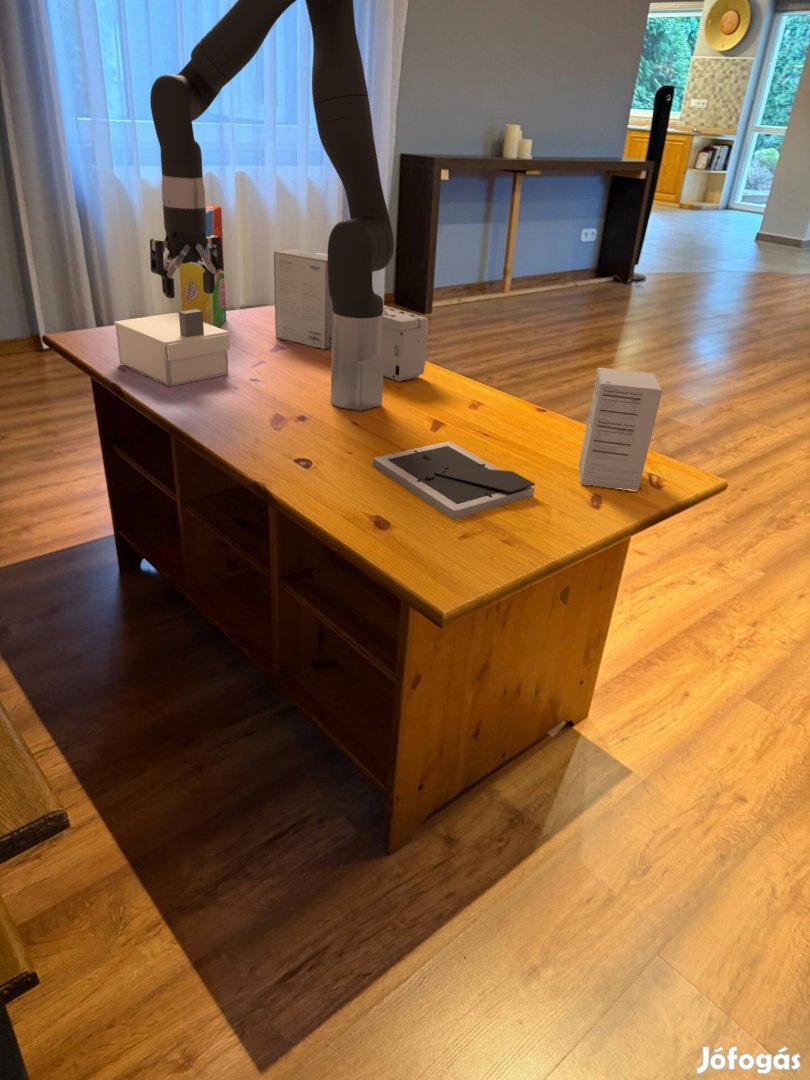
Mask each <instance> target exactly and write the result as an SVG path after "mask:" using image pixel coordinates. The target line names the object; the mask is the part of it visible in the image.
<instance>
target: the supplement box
mask: <svg viewBox="0 0 810 1080" xmlns="http://www.w3.org/2000/svg"><path fill="white" fill-rule="evenodd" d="M595 374H596V376H595V381H594V385H593V386H594V387H593V391H592V397H591V403H590V409H589V415H588V419H587V422H586V426H585V433H584V438H583V444H582V449H581V453H580V458H579V463H578V465H579V466H578V468H579V478H580V485H581V484H584V485H583V486H588V485H594V486H593V487H595V486H602V487H609V488H608V489H610V488H622V489H631V490H638V491H639V490H640V486H641V482H642V481H641V480H642V477H643V472H644V469H645V464H646V461H647V457H648V452H649V448H650V444H651V440H652V435H653V431H654V426H655V422H656V418H657V413H658V409H659V408H660V407H659V406H660V402H661V398H662V393H663V390H662V388H661V385H660V383H659V380H658V378H657V375H656V374H655V373H653V372H652V373H651V372H644V371H635V370H634V371H633V370H625V369H617V368H608V367H598V368H597V371H596V373H595ZM602 487H601V488H602Z"/></svg>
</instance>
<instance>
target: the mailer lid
mask: <svg viewBox="0 0 810 1080" xmlns="http://www.w3.org/2000/svg"><path fill="white" fill-rule="evenodd" d="M113 326H115V328H116V327H119V328H121V329H124V330H126V331H129V332H131V333H133V334H136V335H138V336H141V337H143V338H145V339H148V340H150V341H153V342H155V343H158V344H160V345H162V346H165V347H167V355H168V360H169V361H171V360H176V359H182V358H187V357H192V356H197V355H203V354H208V353H213V352H218V351H224V350H227V351H228V350H231V339H230V337H231V336H230V332H229V331H228V330H226V329H223V328H220V327H219V328H218V327H215V326H212V325H209V324H207V323H204V322H203V311H201V310H198V309H194V310H187V311H182V310H181V311H178V312H171V313H164V314H158V315H151V316H149V315H148V316H144V317H137V318H131V319H130V318H129V319H123V320H115V321H113Z"/></svg>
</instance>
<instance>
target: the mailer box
mask: <svg viewBox="0 0 810 1080" xmlns="http://www.w3.org/2000/svg"><path fill="white" fill-rule="evenodd" d="M115 332H116V340H117V349H118V358H119V364H120V363H121V364H123V365H125V366H127V367H129V368H131V369H133V370H135V371H134V372H136V371H137V372H136V373H138V372H139V373H138V374H140V373H142V374H144V375H146V376H148V377H147V378H149V377H150V378H149V379H151V378H152V379H151V380H153V379H154V380H153V381H155V380H157V381H159V382H160V383H159V382H158V383H159V384H161V383H163V384H162V385H164V384H165V385H164V386H166V385H167V386H166V387H168V386H172V387H175V386H174V385H176V386H180V385H179V384H181V385H184V384H185V383H186V384H190V383H194V382H199V381H203V380H208V379H212V378H217V377H221V376H225V375H229V360H228V358H229V357H228V355H229V354H228V350H224V351H218V352H213V353H208V354H203V355H197V356H192V357H187V358H182V359H176V360H171V361H169V360H168V355H167V347H165V346H162V345H160V344H158V343H155V342H153V341H150V340H148V339H145V338H143V337H141V336H138V335H136V334H133V333H131V332H129V331H126V330H124V329H121V328H119V327H116V326H115ZM123 365H122V366H123ZM125 366H124V367H125ZM127 367H126V368H127ZM129 368H128V369H129ZM131 369H130V370H131ZM133 370H132V371H133ZM142 374H141V375H142ZM144 375H143V376H144ZM146 376H145V377H146ZM157 381H156V382H157Z"/></svg>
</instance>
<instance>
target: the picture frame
mask: <svg viewBox="0 0 810 1080" xmlns="http://www.w3.org/2000/svg"><path fill="white" fill-rule="evenodd" d="M372 467H374V468H375V469H377V470H378V471H380V472H381V473H383V474H384V475H386V476H388V477H389V478H390V479H391V480H394V481H395V482H396V483H397V484H399V485H401V486H402V487H404V488H405V489H406V490H409V491H410V492H411V493H413V494H414V495H416V496H418V497H419V498H421V500H424V501H425V502H426V503H428V504H429V505H431V506H433V507H434V508H436V509H438V510H439V511H440V512H441V513H443V514H444V515H446V516H447V517H448V518H451V519H452V520H457V519H460V518H463V517H467V516H470V515H471V516H472V515H474V514H477V513H481V512H484V511H488V510H491V509H495V508H498V507H502V506H504V505H508V503H509V504H512V503H515V502H518V501H522V500H525V498H526V499H528V498H529V499H530V498H533V497H534V493H535V488H534V487H533V486H535V485H536V483H535V482H533V481H531V480H529V479H527V478H525V477H523V476H522V475H520V474H518V473H517V472H514V471H511V470H503V469H501V468H499V467H497V466H496V465H494V464H491V463H490V462H488V461H486V460H485V459H483V458H482V457H479V456H477V455H476V454H473V453H472V452H470V451H468V450H466V449H465V448H463V447H461V446H459V445H458V444H455V443H454V442H452V441H450V440H448V441H444V442H439V443H434V444H431V445H426V446H421V447H417V448H412V449H408V450H404V451H400V452H399V451H398V452H395V453H390V454H385V455H384V454H383V455H380V456H376V457H373V458H372ZM532 496H533V497H532Z"/></svg>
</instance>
